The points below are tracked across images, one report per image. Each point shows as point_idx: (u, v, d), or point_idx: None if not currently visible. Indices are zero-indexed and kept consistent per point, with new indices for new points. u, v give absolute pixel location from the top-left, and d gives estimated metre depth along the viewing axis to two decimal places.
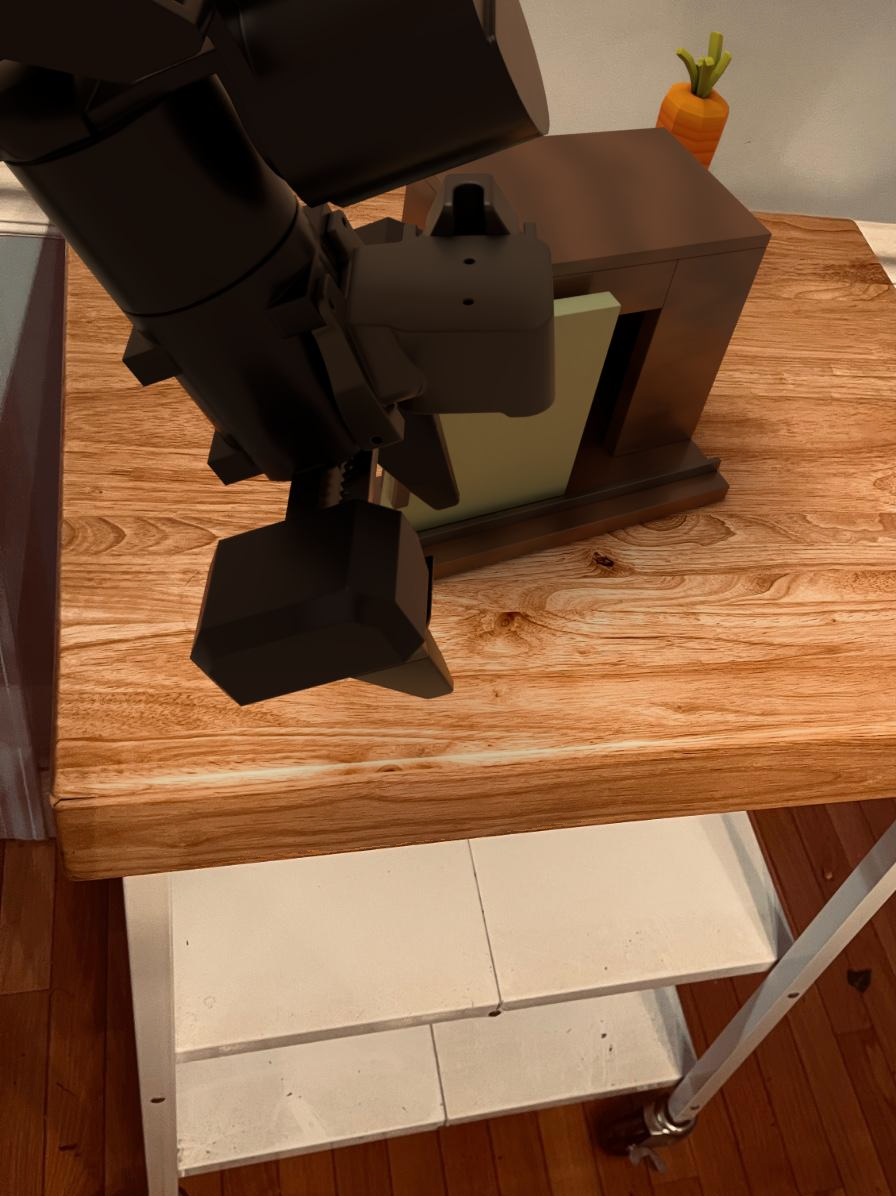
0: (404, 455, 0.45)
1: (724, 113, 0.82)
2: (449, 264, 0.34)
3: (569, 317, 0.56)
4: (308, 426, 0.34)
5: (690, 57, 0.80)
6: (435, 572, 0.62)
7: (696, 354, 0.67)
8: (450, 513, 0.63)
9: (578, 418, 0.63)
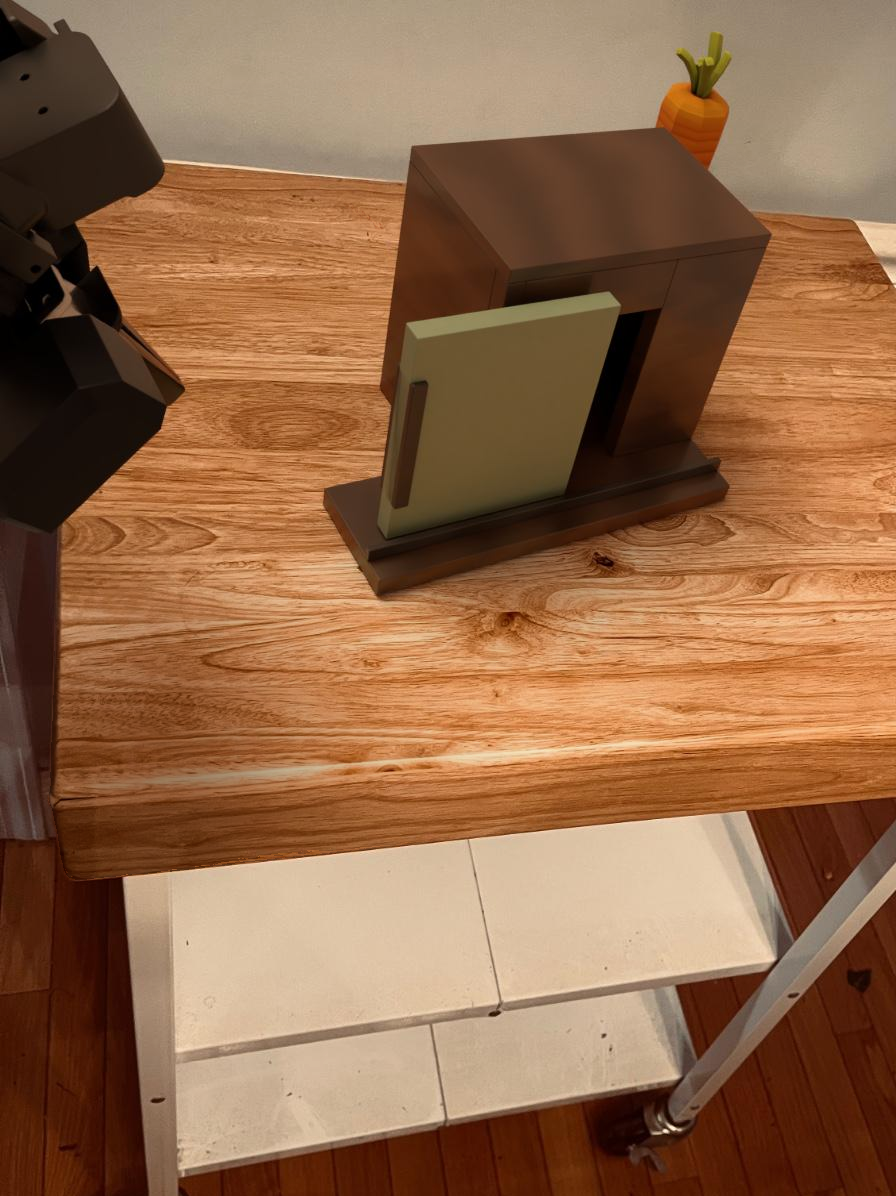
0: None
1: (724, 113, 0.82)
2: (9, 87, 0.37)
3: (569, 317, 0.56)
4: None
5: (690, 57, 0.80)
6: (435, 572, 0.62)
7: (696, 354, 0.67)
8: (450, 513, 0.63)
9: (578, 418, 0.63)
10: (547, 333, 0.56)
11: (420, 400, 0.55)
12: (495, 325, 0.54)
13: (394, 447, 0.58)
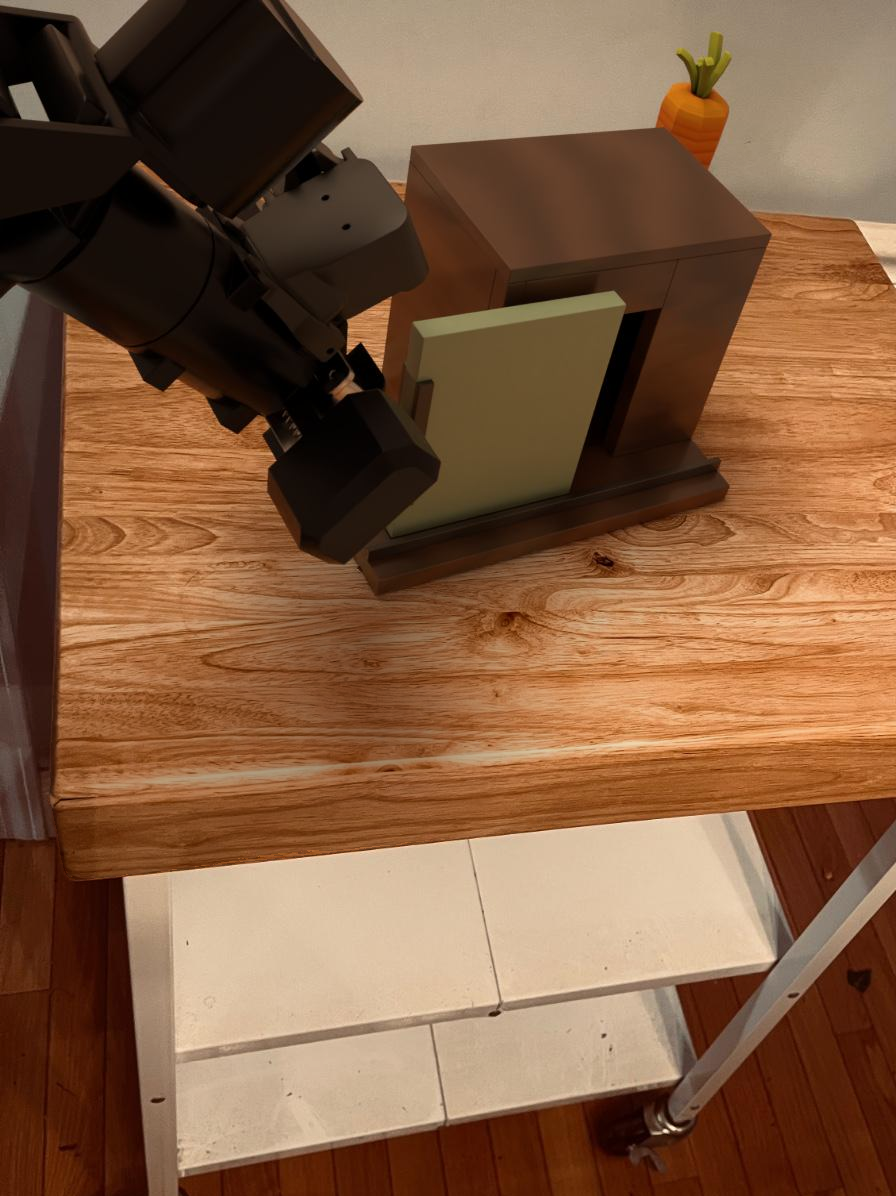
0: None
1: (724, 113, 0.82)
2: (313, 206, 0.46)
3: (574, 316, 0.57)
4: (281, 364, 0.47)
5: (690, 57, 0.80)
6: (435, 572, 0.62)
7: (696, 354, 0.67)
8: (455, 512, 0.63)
9: (583, 417, 0.63)
10: (552, 332, 0.57)
11: (426, 399, 0.55)
12: (501, 324, 0.54)
13: None
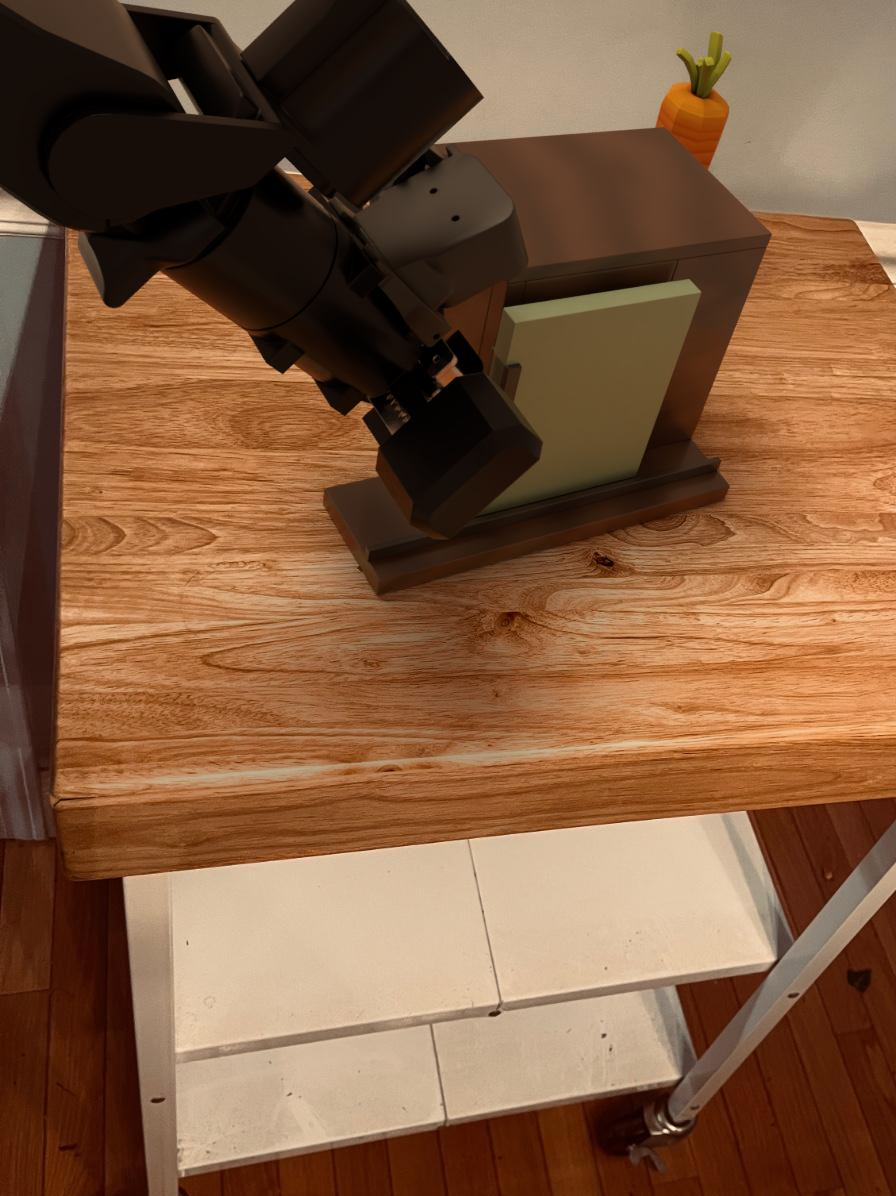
0: None
1: (724, 113, 0.82)
2: (422, 199, 0.49)
3: (653, 302, 0.59)
4: (391, 348, 0.49)
5: (690, 57, 0.80)
6: (435, 572, 0.62)
7: (696, 354, 0.67)
8: (531, 493, 0.65)
9: (654, 402, 0.65)
10: (632, 318, 0.59)
11: (513, 382, 0.57)
12: (586, 310, 0.57)
13: None
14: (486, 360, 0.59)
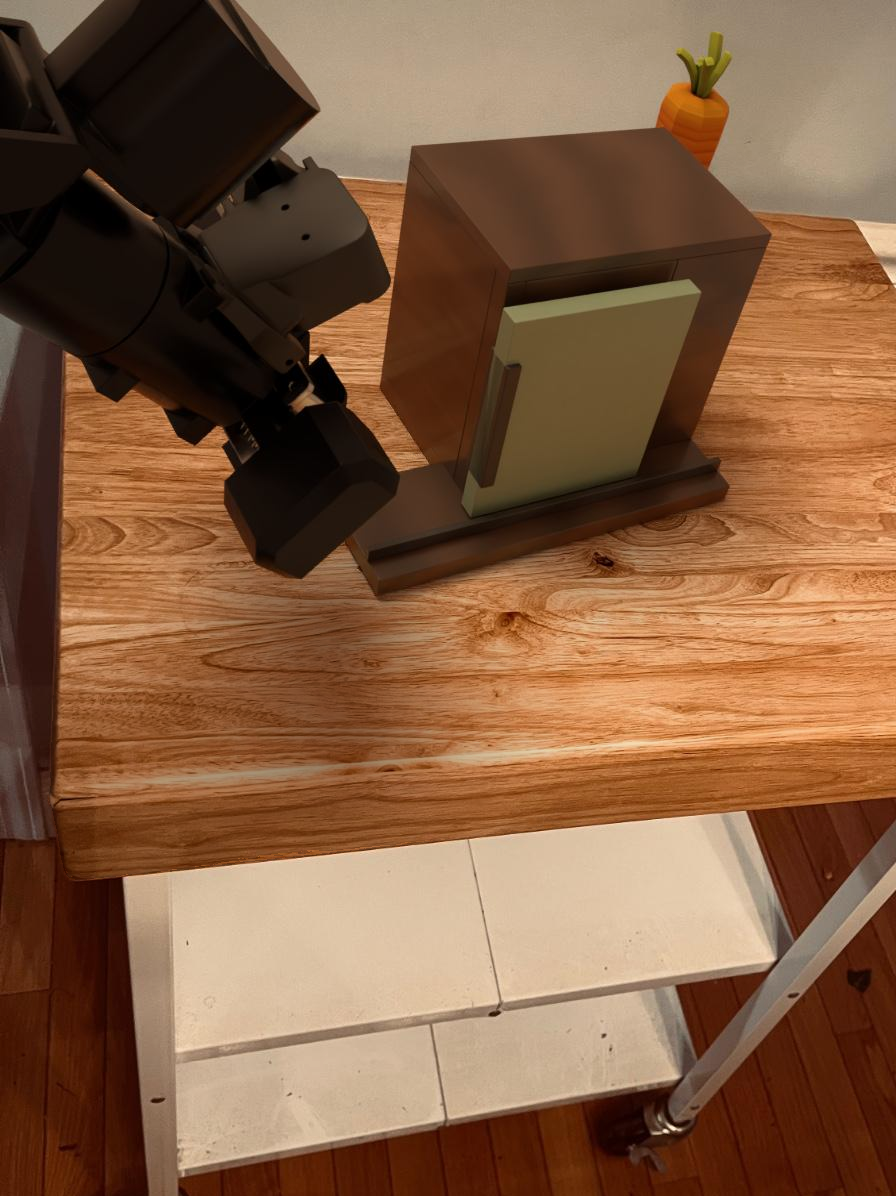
0: None
1: (724, 113, 0.82)
2: (273, 216, 0.46)
3: (653, 302, 0.59)
4: (239, 375, 0.46)
5: (690, 57, 0.80)
6: (435, 572, 0.62)
7: (696, 354, 0.67)
8: (531, 493, 0.65)
9: (654, 402, 0.65)
10: (632, 318, 0.59)
11: (513, 382, 0.57)
12: (586, 310, 0.57)
13: (483, 428, 0.60)
14: (486, 360, 0.59)
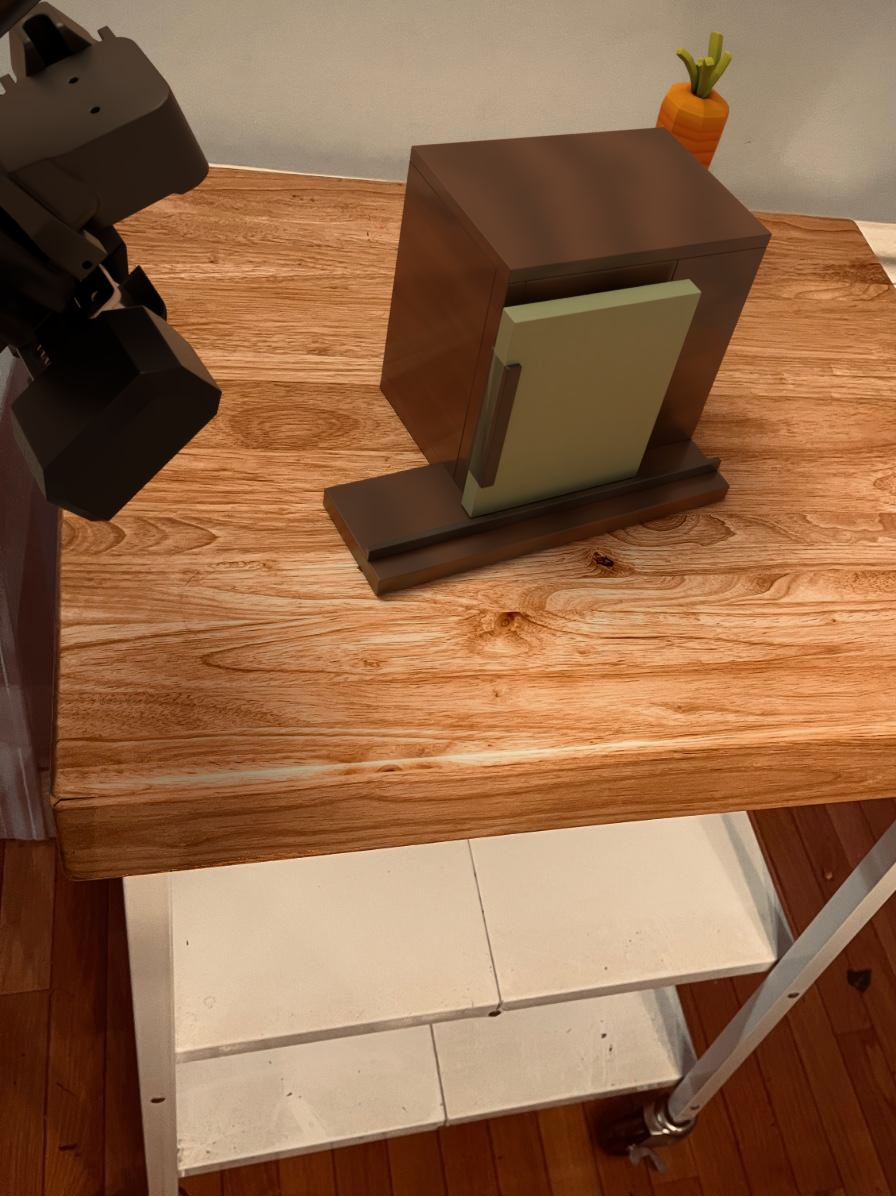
0: None
1: (724, 113, 0.82)
2: (59, 90, 0.38)
3: (653, 302, 0.59)
4: (24, 280, 0.38)
5: (690, 57, 0.80)
6: (435, 572, 0.62)
7: (696, 354, 0.67)
8: (531, 493, 0.65)
9: (654, 402, 0.65)
10: (632, 318, 0.59)
11: (513, 382, 0.57)
12: (586, 310, 0.57)
13: (483, 428, 0.60)
14: (486, 360, 0.59)
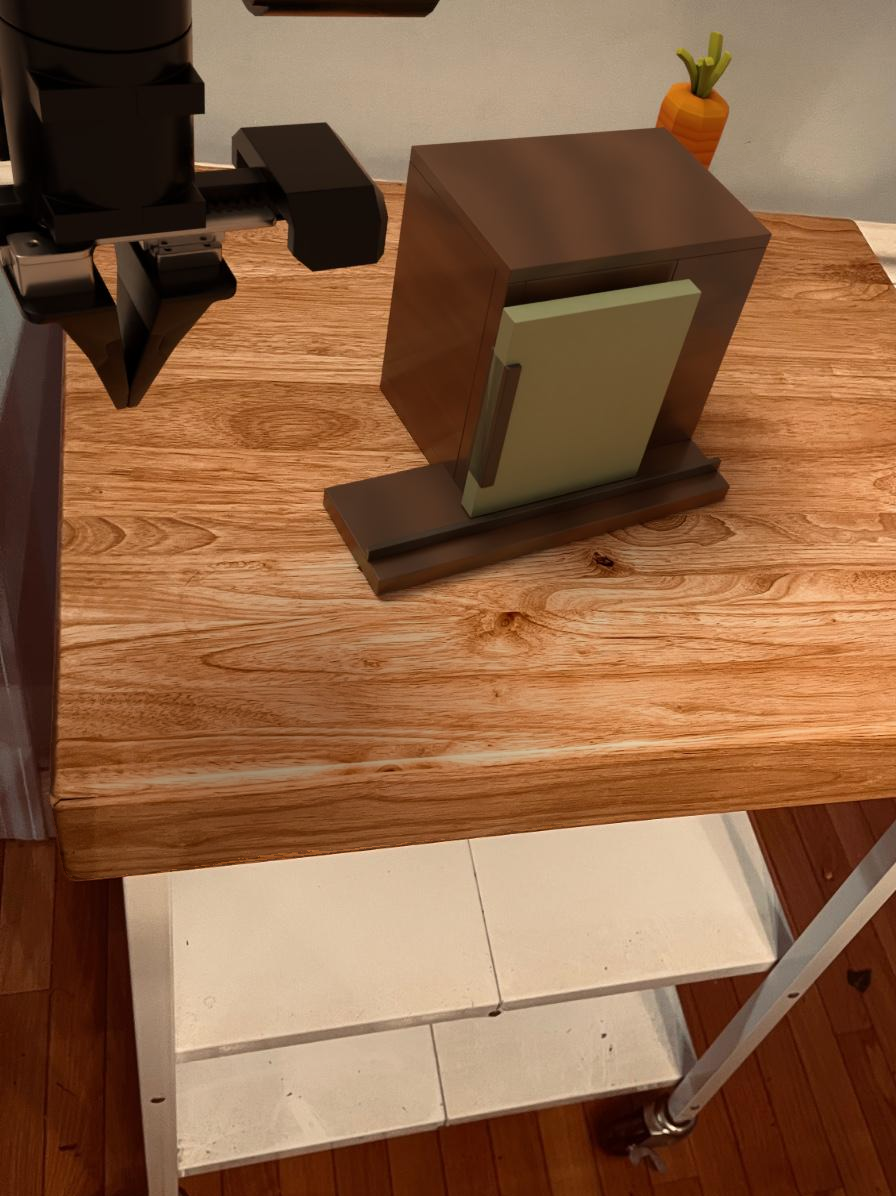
0: None
1: (724, 113, 0.82)
2: None
3: (653, 302, 0.59)
4: None
5: (690, 57, 0.80)
6: (435, 572, 0.62)
7: (696, 354, 0.67)
8: (531, 493, 0.65)
9: (654, 402, 0.65)
10: (632, 318, 0.59)
11: (513, 382, 0.57)
12: (586, 310, 0.57)
13: (483, 428, 0.60)
14: (486, 360, 0.59)
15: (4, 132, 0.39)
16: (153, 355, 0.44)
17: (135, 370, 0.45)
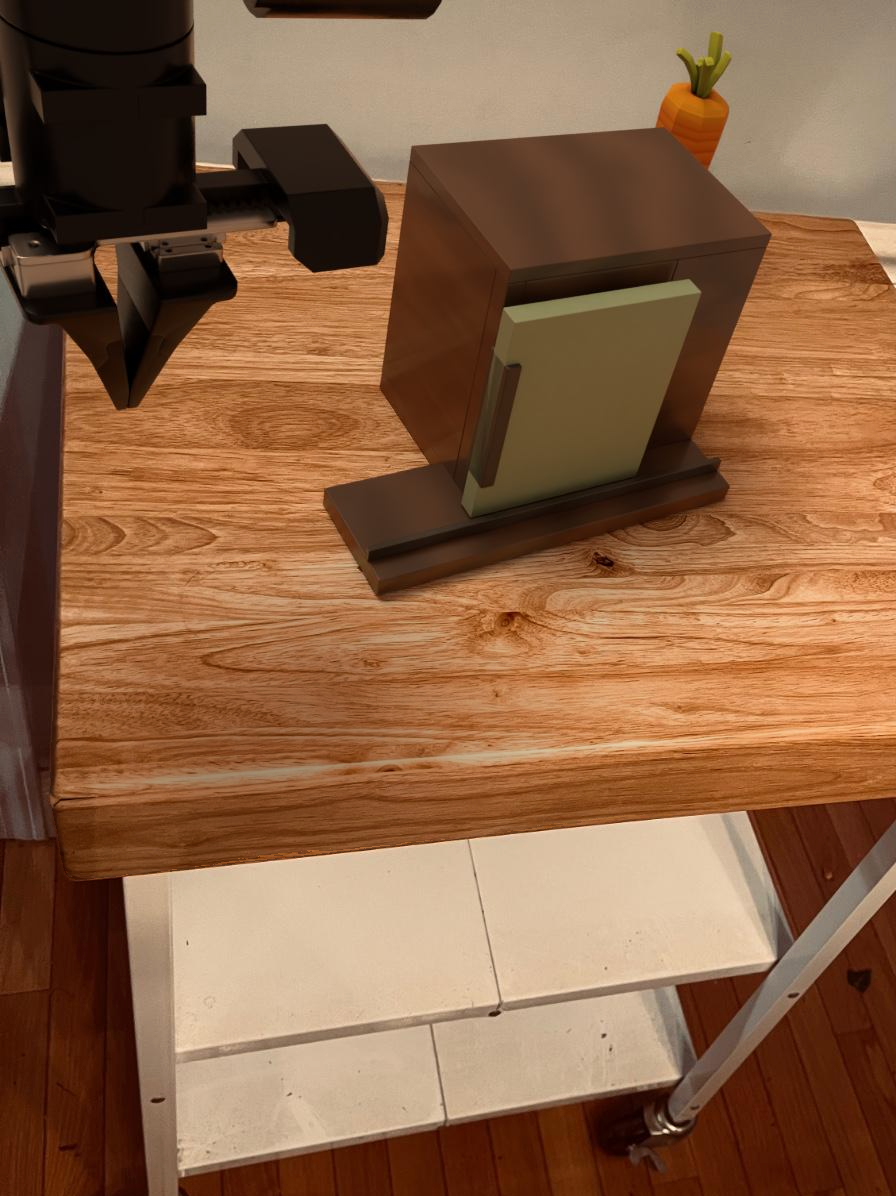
0: None
1: (724, 113, 0.82)
2: None
3: (653, 302, 0.59)
4: None
5: (690, 57, 0.80)
6: (435, 572, 0.62)
7: (696, 354, 0.67)
8: (531, 493, 0.65)
9: (654, 402, 0.65)
10: (632, 318, 0.59)
11: (513, 382, 0.57)
12: (586, 310, 0.57)
13: (483, 428, 0.60)
14: (486, 360, 0.59)
15: (5, 133, 0.39)
16: (153, 356, 0.44)
17: (135, 371, 0.45)
